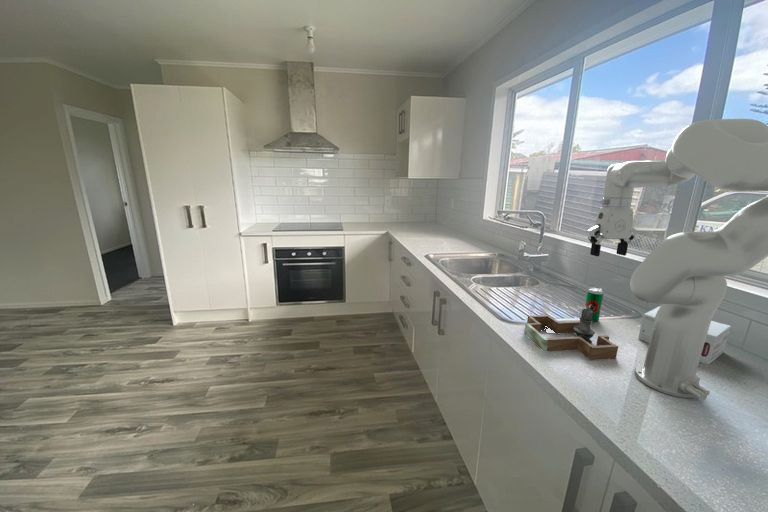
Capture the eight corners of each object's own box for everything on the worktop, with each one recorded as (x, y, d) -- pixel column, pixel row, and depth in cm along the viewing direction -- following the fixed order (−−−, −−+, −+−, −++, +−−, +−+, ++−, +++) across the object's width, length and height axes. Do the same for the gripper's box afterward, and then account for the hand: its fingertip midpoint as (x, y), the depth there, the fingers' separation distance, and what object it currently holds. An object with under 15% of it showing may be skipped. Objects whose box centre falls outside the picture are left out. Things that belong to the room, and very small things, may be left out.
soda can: (601, 322, 111) (607, 291, 109) (588, 322, 112) (593, 291, 109) (592, 316, 116) (598, 287, 113) (579, 316, 116) (584, 287, 114)
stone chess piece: (595, 346, 96) (602, 311, 93) (574, 342, 97) (580, 308, 95) (590, 337, 101) (596, 303, 98) (570, 334, 103) (575, 301, 100)
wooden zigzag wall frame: (622, 358, 89) (624, 346, 88) (554, 362, 87) (556, 349, 86) (571, 324, 110) (572, 314, 109) (516, 326, 108) (517, 316, 107)
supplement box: (637, 339, 100) (642, 313, 98) (654, 329, 106) (660, 305, 104) (708, 365, 86) (717, 336, 83) (723, 352, 92) (732, 324, 90)
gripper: (601, 204, 93) (592, 258, 97) (651, 203, 95) (641, 256, 98) (582, 203, 100) (575, 253, 104) (630, 202, 102) (621, 252, 106)
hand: (607, 255), depth 101 cm, fingers open, 9 cm apart
